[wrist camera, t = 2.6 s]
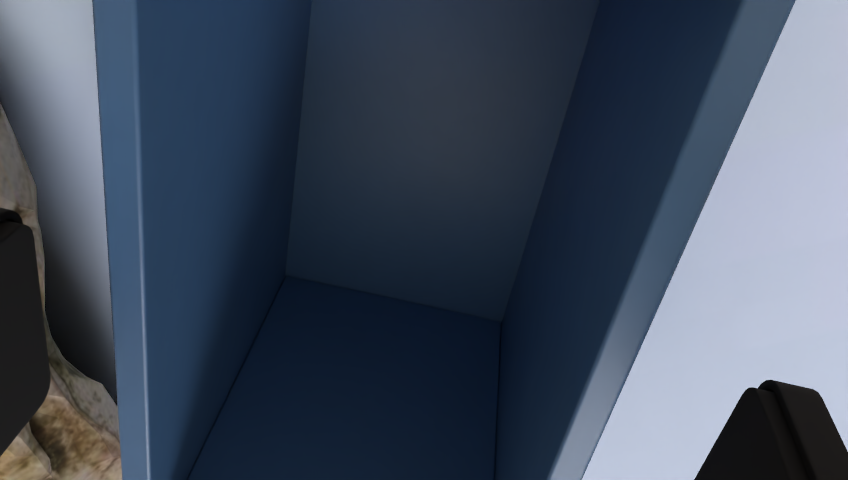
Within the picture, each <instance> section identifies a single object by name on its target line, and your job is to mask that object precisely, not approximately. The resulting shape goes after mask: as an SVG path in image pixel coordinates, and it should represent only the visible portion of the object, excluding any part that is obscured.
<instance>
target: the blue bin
mask: <svg viewBox="0 0 848 480" xmlns="http://www.w3.org/2000/svg"><path fill="white" fill-rule="evenodd" d="M92 2H93V18H94V34H95V50H96V66H97V82H98V98H99V114H100V131H101V147H102V163H103V179H104V195H105V211H106V227H107V243H108V260H109V276H110V292H111V308H112V324H113V340H114V356H115V372H116V389H117V405H118V421H119V437H120V453H121V469H122V480H582V478H583V475H584V473H585V471H586V469H587V466H588V464H589V462H590V460H591V457H592V455H593V453H594V451H595V448H596V446H597V444H598V442H599V439H600V437H601V435H602V433H603V431H604V428H605V426H606V424H607V422H608V419H609V417H610V415H611V413H612V410H613V408H614V406H615V404H616V401H617V399H618V397H619V395H620V392H621V390H622V388H623V386H624V383H625V381H626V379H627V377H628V375H629V372H630V370H631V368H632V366H633V363H634V361H635V359H636V357H637V354H638V352H639V350H640V348H641V345H642V343H643V341H644V339H645V336H646V334H647V332H648V330H649V327H650V325H651V323H652V321H653V319H654V316H655V314H656V312H657V310H658V307H659V305H660V303H661V301H662V298H663V296H664V294H665V292H666V289H667V287H668V285H669V283H670V280H671V278H672V276H673V274H674V271H675V269H676V267H677V265H678V263H679V260H680V258H681V256H682V254H683V251H684V249H685V247H686V245H687V242H688V240H689V238H690V236H691V233H692V231H693V229H694V227H695V224H696V222H697V220H698V218H699V215H700V213H701V211H702V209H703V207H704V204H705V202H706V200H707V198H708V195H709V193H710V191H711V189H712V186H713V184H714V182H715V180H716V177H717V175H718V173H719V171H720V168H721V166H722V164H723V162H724V159H725V157H726V155H727V153H728V151H729V148H730V146H731V144H732V142H733V139H734V137H735V135H736V133H737V130H738V128H739V126H740V124H741V121H742V119H743V117H744V115H745V112H746V110H747V108H748V106H749V103H750V101H751V99H752V97H753V95H754V92H755V90H756V88H757V86H758V83H759V81H760V79H761V77H762V74H763V72H764V70H765V68H766V65H767V63H768V61H769V59H770V56H771V54H772V52H773V50H774V48H775V45H776V43H777V41H778V39H779V36H780V34H781V32H782V30H783V27H784V25H785V23H786V21H787V18H788V16H789V14H790V12H791V9H792V7H793V5H794V3H795V0H92Z"/></svg>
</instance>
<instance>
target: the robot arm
mask: <svg viewBox="0 0 848 480" xmlns="http://www.w3.org/2000/svg"><path fill="white" fill-rule="evenodd" d="M50 382H51V375H50V367H49V358H48V350H47V342H46V333H45V325H44V317H43V308H42V300H41V292H40V283H39V275H38V267H37V258H36V250H35V242H34V235H33V231H32V229H31V228H30V227H29V226H27V225H24V224H23V221H22V218H21V217H20V215H19V214H18V213H17V212H15V211H13V210H9V209H5V208H0V457H1V455H2V454H3V453H4V452H5V450H6V449H7V448H8V447H9V445H10V444H11V443H12V442H13V440H14V439H15V438H16V437H17V435H18V434H19V433H20V432H21V430H22V429H23V428H24V427H25V425H26V424H27V423H28V422H29V420H30V419H31V418H32V417H33V415H34V414H35V413H36V412H37V410H38V409H39V408H40V407H41V405H42V404H43V402H44V401H45V398H46V396H47V394H48V391H49V388H50ZM694 480H848V452H847V449H846V447H845V445H844V443H843V441H842V439H841V437H840V435H839V433H838V431H837V428H836V426H835V424H834V422H833V420H832V418H831V416H830V414H829V412H828V410H827V408H826V405H825V403H824V401H823V399H822V397H821V396H820V395H819V393H818V392H817V391H815V390H813V389H809V388H805V387H800V386H796V385H791V384H787V383H782V382H778V381H773V380H766V381H765V382H763V383H762V384H761V385H760V386H759V387H758V389H757V388H748V389H747V390H745V392H744V393H743V394H742V396H741V398H740V400H739V401H738V403H737V405H736V407H735V409H734V410H733V412H732V414H731V416H730V417H729V419H728V421H727V423H726V424H725V426H724V428H723V430H722V432H721V433H720V435H719V437H718V439H717V440H716V442H715V444H714V446H713V448H712V449H711V451H710V453H709V455H708V456H707V458H706V460H705V462H704V463H703V465H702V467H701V469H700V471H699V472H698V474H697V476H696V478H695V479H694Z"/></svg>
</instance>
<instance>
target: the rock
mask: <svg viewBox="0 0 848 480" xmlns="http://www.w3.org/2000/svg"><path fill="white" fill-rule="evenodd" d="M0 208H5V209H9V210H13V211H15V212H17V213H18V214H19V215H20V217H21V218H22V221H23V224H24V225H27V226H29V227H30V228H31V229H32V231H33V235H34V242H35V250H36V258H37V267H38V275H39V283H40V292H41V300H42V308H43V317H44V325H45V333H46V342H47V350H48V358H49V367H50V375H51V382H50V388H49V391H48V394H47V396H46V398H45V401H44V402H43V404H42V405H41V407H40V408H39V409H38V410H37V412H36V413H35V414H34V415H33V417H32V418H31V419H30V420H29V422H28V423H27V424H26V425H25V427H24V428H23V429H22V430H21V432H20V433H19V434H18V435H17V437H16V438H15V439H14V440H13V442H12V443H11V444H10V445H9V447H8V448H7V449H6V450H5V452H4V453H3V454H2V455H1V457H0V480H122V469H121V453H120V437H119V421H118V406H117V405H116V404H115V403H114V401H113V400H112V398H111V397H110V395H109V394H108V392H107V391H106V389H105V388H104V386H103V385H102V384H101V383H99V382H97V381H95V380H93V379H91V378H89V377H86V376H85V375H84V374H83V373H81V372H80V371H79V370H78V369H77V368H75V367H74V366H73V365H72V364H70V363H69V362H68V361H67V360H66V359H64V357H63V356H62V354H61V352H60V350H59V349H58V347H57V345H56V344H55V342H54V340H53V338H52V337H51V333H50V330H49V326H48V322H47V318H46V314H45V310H44V309H45V270H44V267H45V259H44V251H43V243H42V234H41V229H40V226H39V223H38V211H37V188H36V185H35V182H34V180H33V177H32V175H31V172H30V170H29V168H28V165H27V163H26V160H25V158H24V156H23V153H22V151H21V148H20V146H19V144H18V141H17V139H16V137H15V135H14V132H13V130H12V128H11V126H10V123H9V121H8V119H7V117H6V114H5V112H4V110H3V108H2V105H1V103H0Z"/></svg>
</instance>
